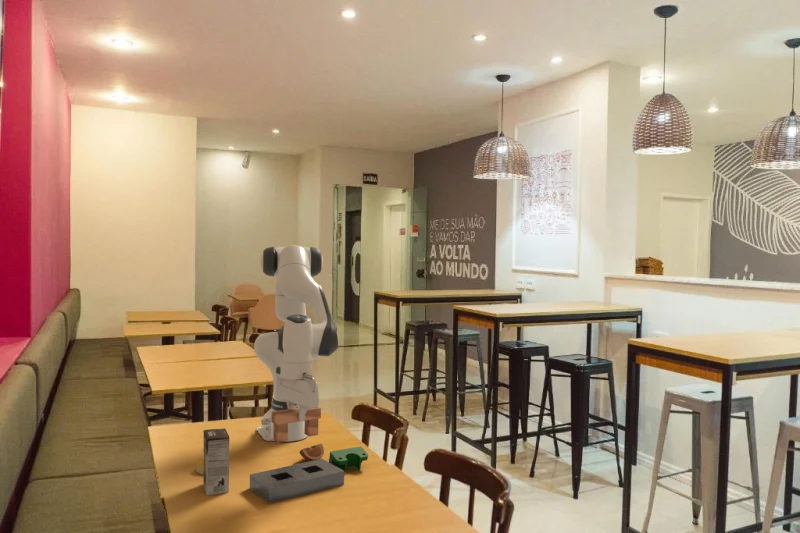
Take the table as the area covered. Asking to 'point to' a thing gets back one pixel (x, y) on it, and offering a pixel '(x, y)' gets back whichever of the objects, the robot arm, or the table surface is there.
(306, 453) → the fruit slice
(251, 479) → the cinder block
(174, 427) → the table surface
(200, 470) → the bread roll
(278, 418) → the wooden bridge block
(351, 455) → the clamp
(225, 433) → the coffee box
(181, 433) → the table surface
